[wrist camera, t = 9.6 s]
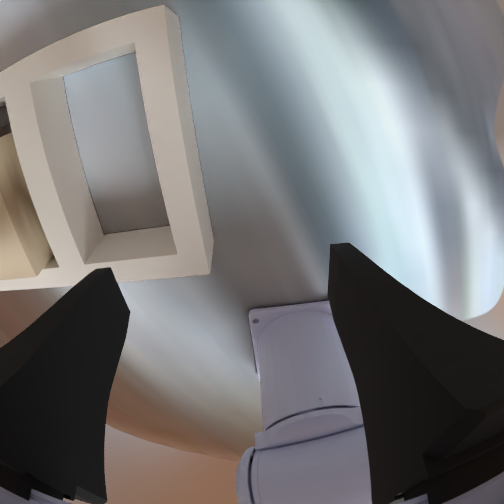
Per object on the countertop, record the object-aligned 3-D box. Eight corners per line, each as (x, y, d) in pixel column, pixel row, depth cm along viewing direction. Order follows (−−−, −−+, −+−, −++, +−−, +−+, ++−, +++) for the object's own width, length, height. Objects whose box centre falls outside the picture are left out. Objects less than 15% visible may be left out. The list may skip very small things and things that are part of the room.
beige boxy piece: (69, 234, 19) (36, 276, 15) (32, 241, 19) (-1, 280, 15) (33, 115, 14) (-16, 135, 10) (-4, 133, 15) (-51, 156, 10)
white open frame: (214, 241, 20) (210, 274, 17) (20, 264, 20) (0, 290, 17) (179, 17, 12) (163, 4, 9) (-32, 107, 13) (-63, 119, 10)
